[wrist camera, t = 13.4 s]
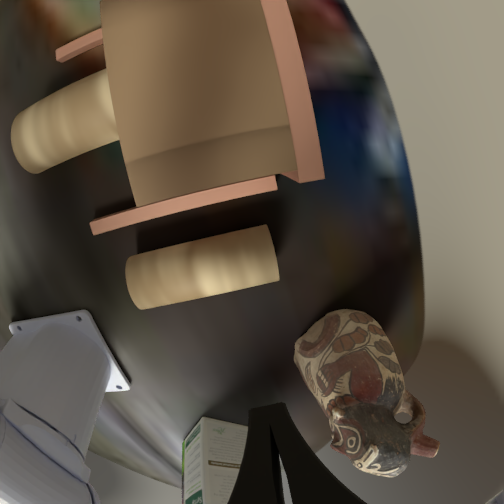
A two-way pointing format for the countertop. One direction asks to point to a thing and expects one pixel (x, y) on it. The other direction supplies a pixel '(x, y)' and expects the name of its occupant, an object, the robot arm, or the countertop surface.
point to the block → (194, 94)
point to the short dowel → (202, 268)
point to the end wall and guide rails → (297, 114)
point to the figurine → (362, 392)
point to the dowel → (65, 124)
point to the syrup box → (212, 461)
